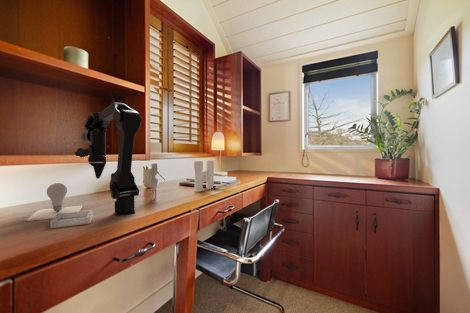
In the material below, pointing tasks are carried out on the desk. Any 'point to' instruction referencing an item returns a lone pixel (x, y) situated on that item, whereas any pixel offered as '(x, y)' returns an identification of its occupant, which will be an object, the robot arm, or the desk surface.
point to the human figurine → (153, 179)
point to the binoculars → (204, 175)
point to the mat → (52, 213)
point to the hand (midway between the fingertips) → (98, 177)
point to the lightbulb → (57, 195)
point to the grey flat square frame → (68, 221)
